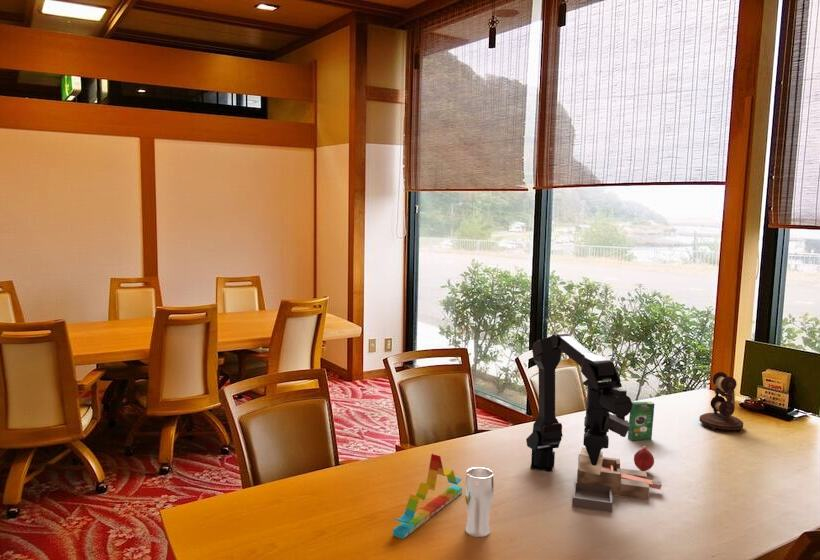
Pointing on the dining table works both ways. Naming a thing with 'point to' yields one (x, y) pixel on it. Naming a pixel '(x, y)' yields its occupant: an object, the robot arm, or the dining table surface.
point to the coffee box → (641, 421)
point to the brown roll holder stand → (723, 405)
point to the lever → (637, 478)
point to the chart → (417, 519)
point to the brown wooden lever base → (617, 480)
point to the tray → (592, 497)
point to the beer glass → (478, 500)
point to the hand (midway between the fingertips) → (594, 461)
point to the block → (589, 463)
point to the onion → (643, 459)
